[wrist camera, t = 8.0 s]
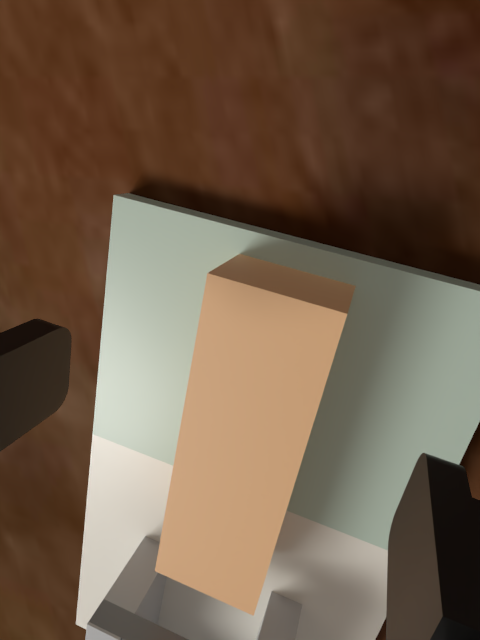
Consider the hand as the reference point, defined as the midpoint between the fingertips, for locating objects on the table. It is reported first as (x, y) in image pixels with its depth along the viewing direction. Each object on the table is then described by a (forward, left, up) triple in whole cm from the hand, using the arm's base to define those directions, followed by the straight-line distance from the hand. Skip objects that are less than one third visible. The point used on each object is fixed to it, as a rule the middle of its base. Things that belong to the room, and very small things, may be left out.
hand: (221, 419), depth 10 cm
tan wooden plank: (0, +4, -7) cm, 8 cm away
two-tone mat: (0, +9, -8) cm, 12 cm away
